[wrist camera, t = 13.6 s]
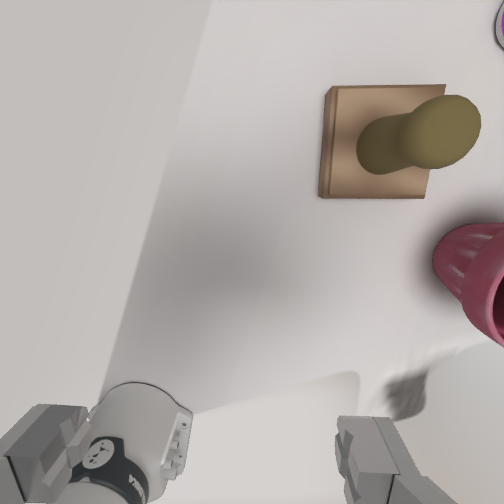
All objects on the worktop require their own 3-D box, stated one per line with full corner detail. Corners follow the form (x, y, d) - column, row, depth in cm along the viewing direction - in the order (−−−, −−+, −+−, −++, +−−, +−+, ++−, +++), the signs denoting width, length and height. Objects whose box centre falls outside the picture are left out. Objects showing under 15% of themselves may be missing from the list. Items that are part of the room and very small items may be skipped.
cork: (357, 178, 30) (408, 181, 19) (354, 122, 28) (409, 90, 17) (411, 170, 29) (494, 167, 19) (412, 111, 27) (504, 72, 17)
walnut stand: (409, 196, 34) (428, 199, 30) (318, 196, 34) (324, 198, 30) (427, 93, 30) (451, 81, 27) (325, 94, 31) (334, 83, 27)
